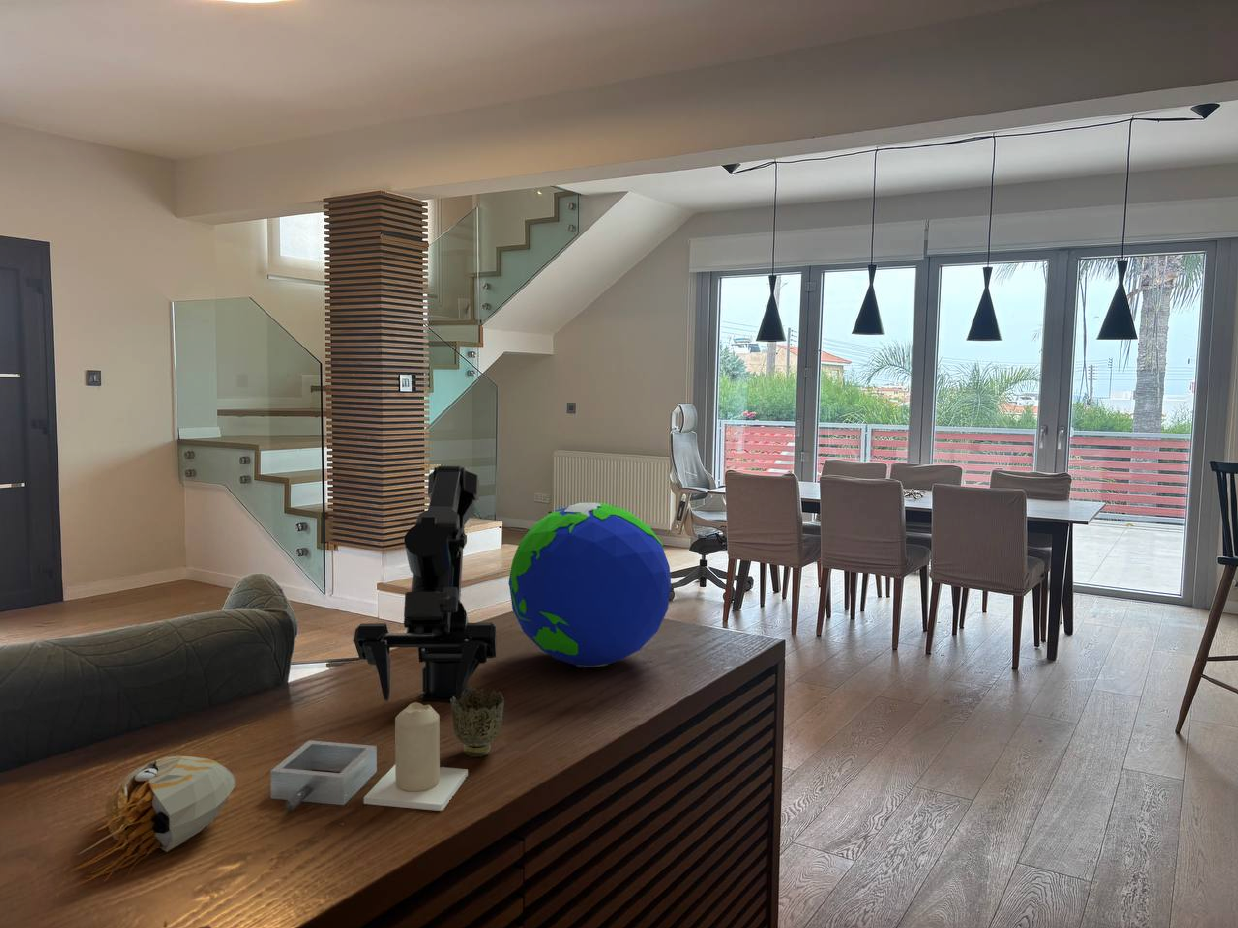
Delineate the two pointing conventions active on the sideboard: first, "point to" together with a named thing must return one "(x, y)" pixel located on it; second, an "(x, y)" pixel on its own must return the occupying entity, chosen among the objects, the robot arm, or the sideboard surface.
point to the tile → (427, 799)
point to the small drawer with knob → (323, 773)
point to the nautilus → (163, 806)
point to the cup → (477, 720)
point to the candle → (417, 748)
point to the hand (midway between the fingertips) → (421, 699)
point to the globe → (590, 584)
